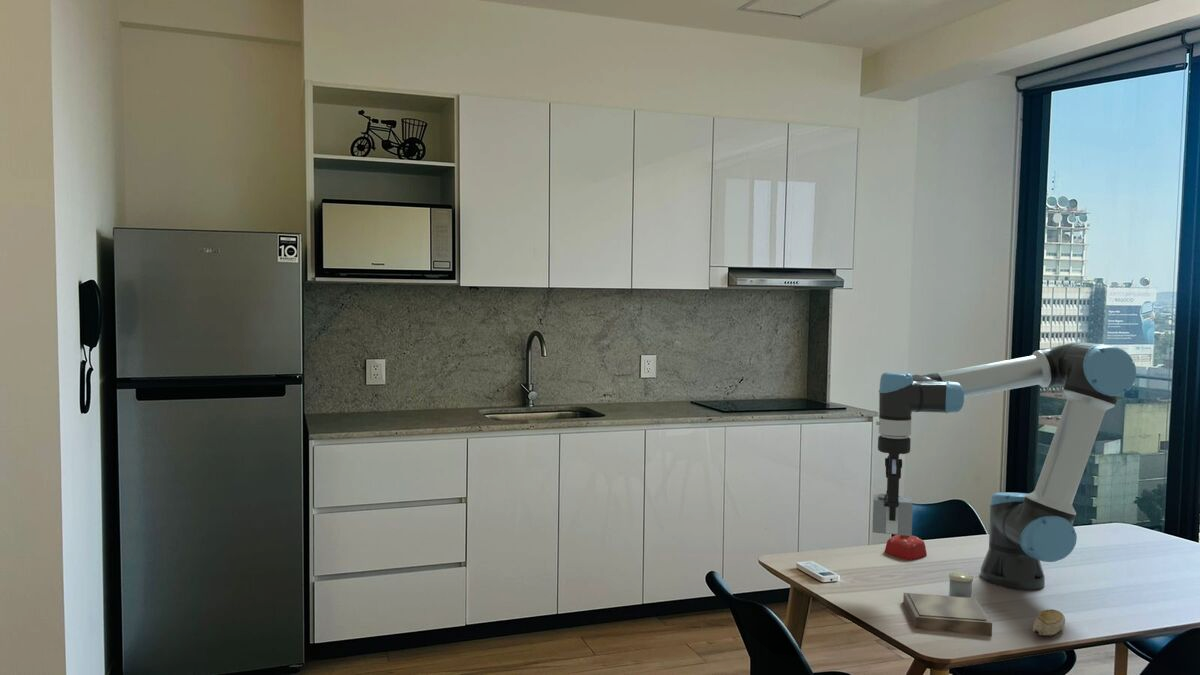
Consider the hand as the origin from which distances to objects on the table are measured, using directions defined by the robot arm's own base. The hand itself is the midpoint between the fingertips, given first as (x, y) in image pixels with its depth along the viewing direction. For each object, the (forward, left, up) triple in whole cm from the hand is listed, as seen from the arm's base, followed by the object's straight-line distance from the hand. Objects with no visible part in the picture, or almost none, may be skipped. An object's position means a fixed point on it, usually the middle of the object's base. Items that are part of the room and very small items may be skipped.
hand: (891, 529), depth 216 cm
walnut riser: (-10, +13, -17) cm, 24 cm away
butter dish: (-9, -33, -17) cm, 39 cm away
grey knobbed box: (0, 0, 0) cm, 0 cm away
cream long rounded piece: (-30, +11, -15) cm, 35 cm away
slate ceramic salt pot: (-16, 0, -17) cm, 24 cm away
